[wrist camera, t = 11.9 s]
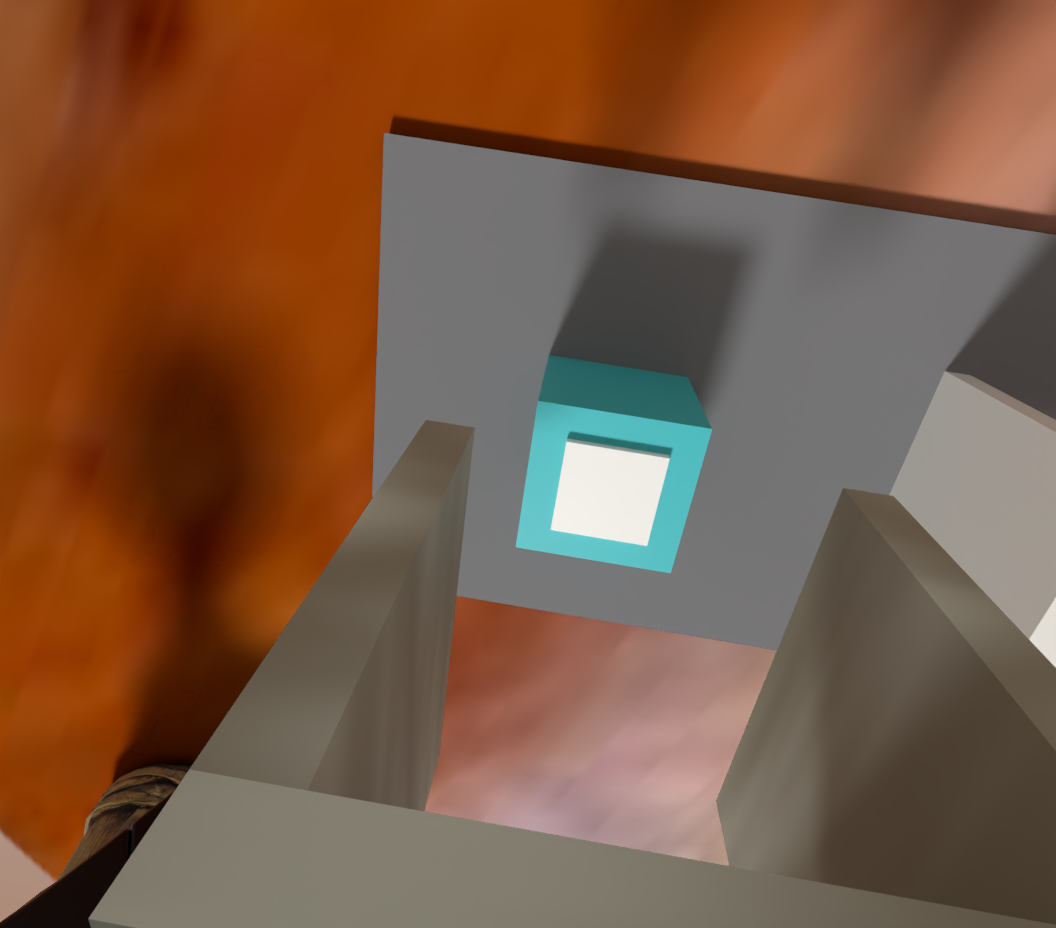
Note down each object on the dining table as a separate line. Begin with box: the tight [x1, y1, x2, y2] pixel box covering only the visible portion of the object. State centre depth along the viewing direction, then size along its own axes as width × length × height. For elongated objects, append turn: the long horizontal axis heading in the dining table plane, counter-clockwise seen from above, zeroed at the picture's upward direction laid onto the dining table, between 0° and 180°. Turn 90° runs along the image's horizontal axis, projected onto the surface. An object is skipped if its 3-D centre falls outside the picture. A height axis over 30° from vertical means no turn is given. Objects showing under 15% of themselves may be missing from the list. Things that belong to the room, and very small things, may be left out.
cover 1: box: [88, 420, 1056, 928], centre depth 7 cm, size 7×7×6 cm
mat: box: [372, 133, 1056, 650], centre depth 19 cm, size 26×14×1 cm, turn 82°
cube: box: [516, 355, 712, 573], centre depth 17 cm, size 4×4×4 cm
